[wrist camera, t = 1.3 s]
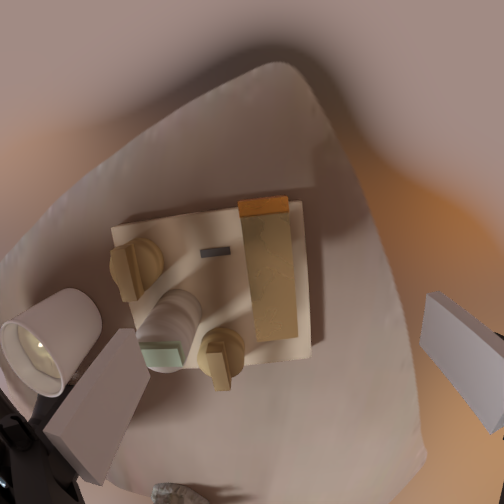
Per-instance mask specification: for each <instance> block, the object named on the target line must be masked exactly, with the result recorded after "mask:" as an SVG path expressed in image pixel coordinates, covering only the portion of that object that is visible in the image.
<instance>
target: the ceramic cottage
mask: <svg viewBox="0 0 504 504" xmlns="http://www.w3.org/2000/svg"><path fill="white" fill-rule="evenodd" d="M151 499H152V501H153V502H154V504H210V503H209V501H208V500H207V499H205V498H204V497H202V496H200V495H199V494H198V493H196V492H195V491H193V490H192V489H190V488H188V487H186V486H183V485H179V484H175V483H161V484H157V485H154V488H153V491H152V495H151Z"/></svg>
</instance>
